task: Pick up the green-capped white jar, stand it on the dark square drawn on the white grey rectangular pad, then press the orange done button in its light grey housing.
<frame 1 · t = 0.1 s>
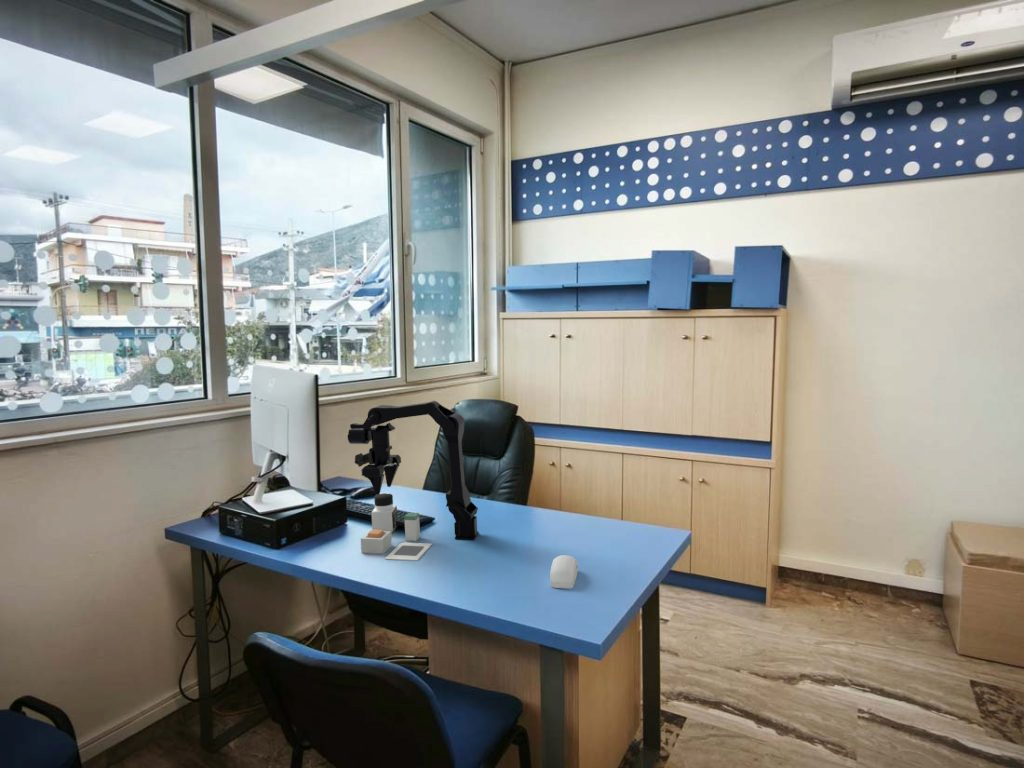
hand: (383, 490, 202), 15 cm above the table, tool pointing down, fingers open, 9 cm apart
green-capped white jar: (412, 538, 197), on the table
done button: (376, 535, 189), point 4 cm above the table, slide at 0.0 cm
done button housing: (376, 548, 189), on the table
medicine bottle: (385, 529, 208), on the table
white grey rectangular pad: (409, 551, 186), on the table
computer mouse: (564, 580, 163), on the table
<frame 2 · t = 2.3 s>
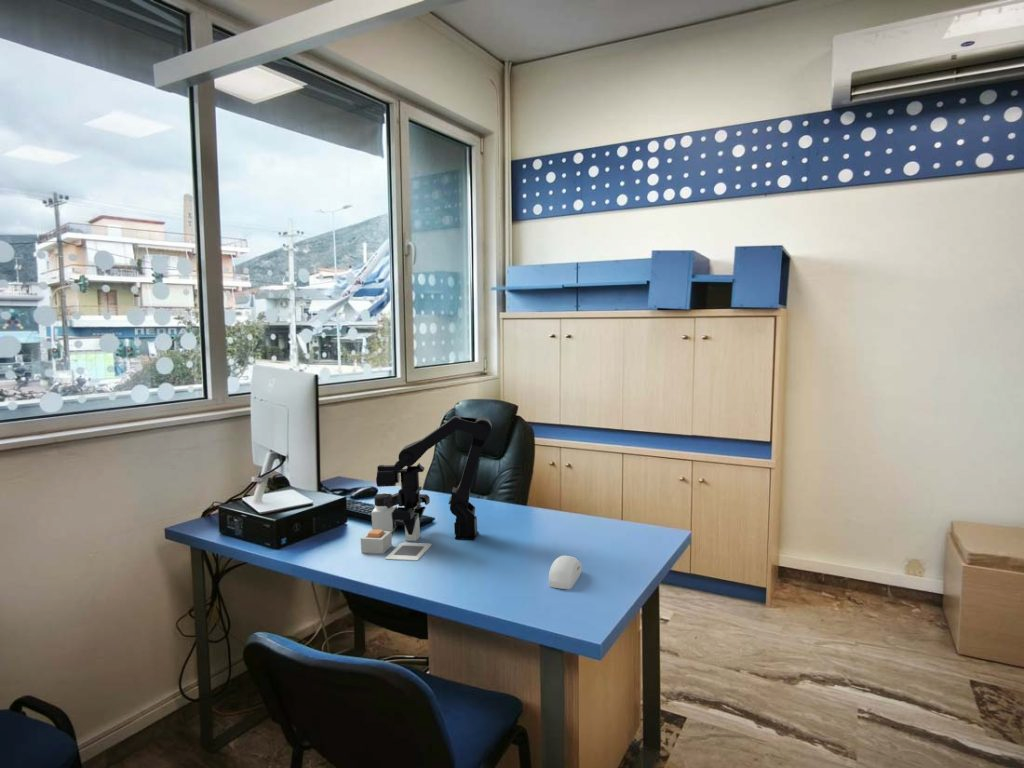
hand: (412, 532, 197), 2 cm above the table, tool pointing down, fingers closed on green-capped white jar, 4 cm apart
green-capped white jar: (412, 538, 197), on the table, touching gripper
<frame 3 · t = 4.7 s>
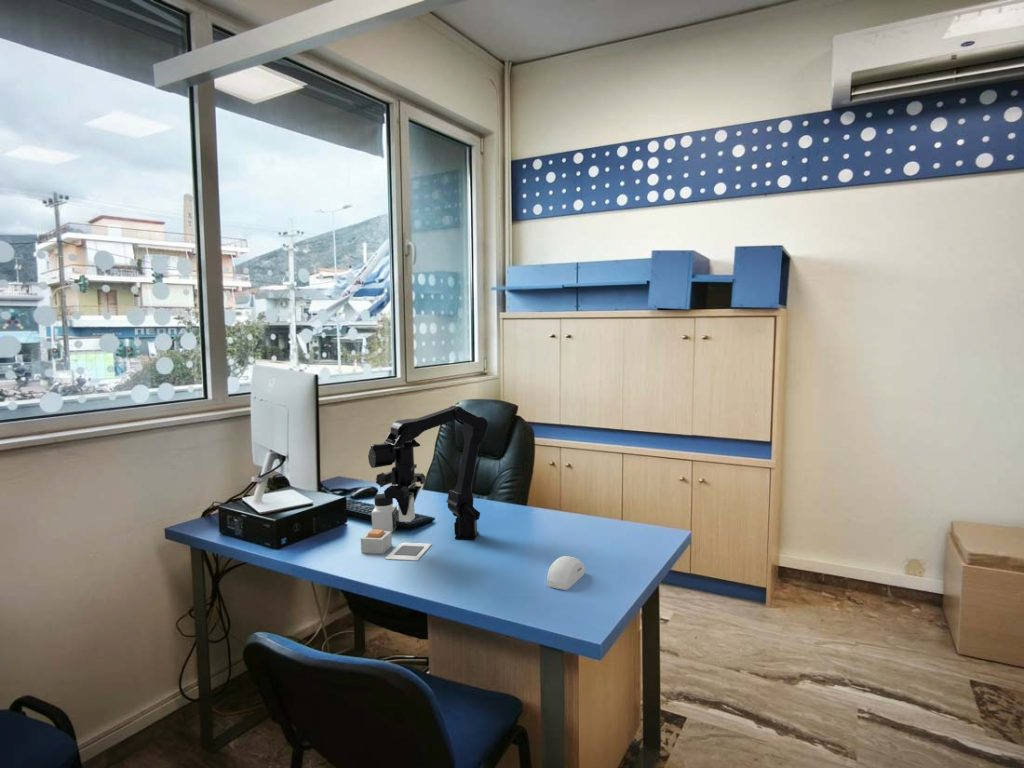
hand: (406, 513, 185), 12 cm above the table, tool pointing down, fingers closed on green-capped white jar, 4 cm apart
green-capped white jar: (407, 519, 185), point 10 cm above the table, touching gripper
when the fingers open (3 cm above the table, at t = 7.1 s): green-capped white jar stays where it is, resting on white grey rectangular pad.
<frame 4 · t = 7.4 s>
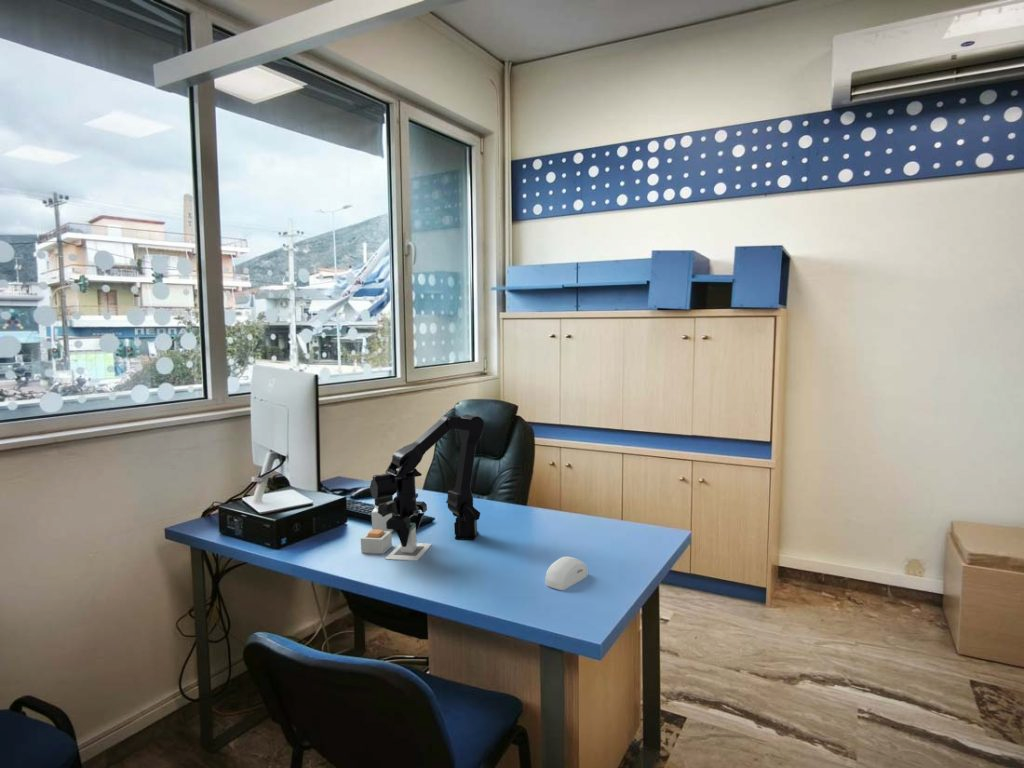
hand: (408, 542, 186), 3 cm above the table, tool pointing down, fingers open, 7 cm apart
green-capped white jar: (409, 550, 186), resting on white grey rectangular pad
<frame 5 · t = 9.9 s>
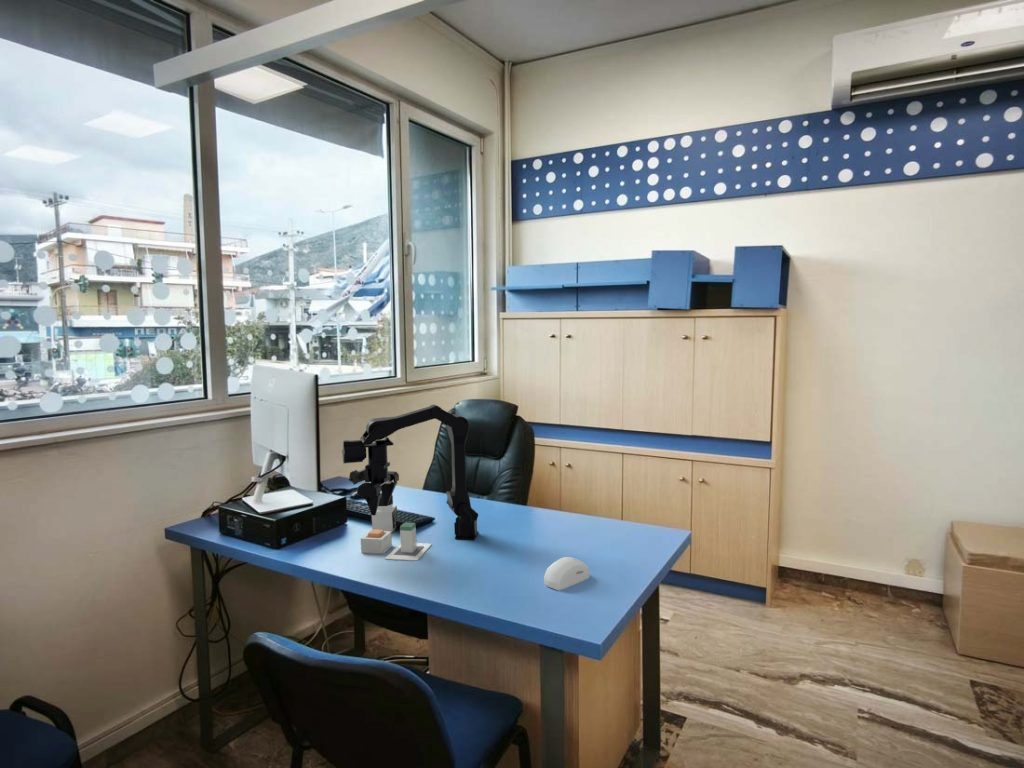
hand: (379, 510, 187), 13 cm above the table, tool pointing down, fingers open, 9 cm apart
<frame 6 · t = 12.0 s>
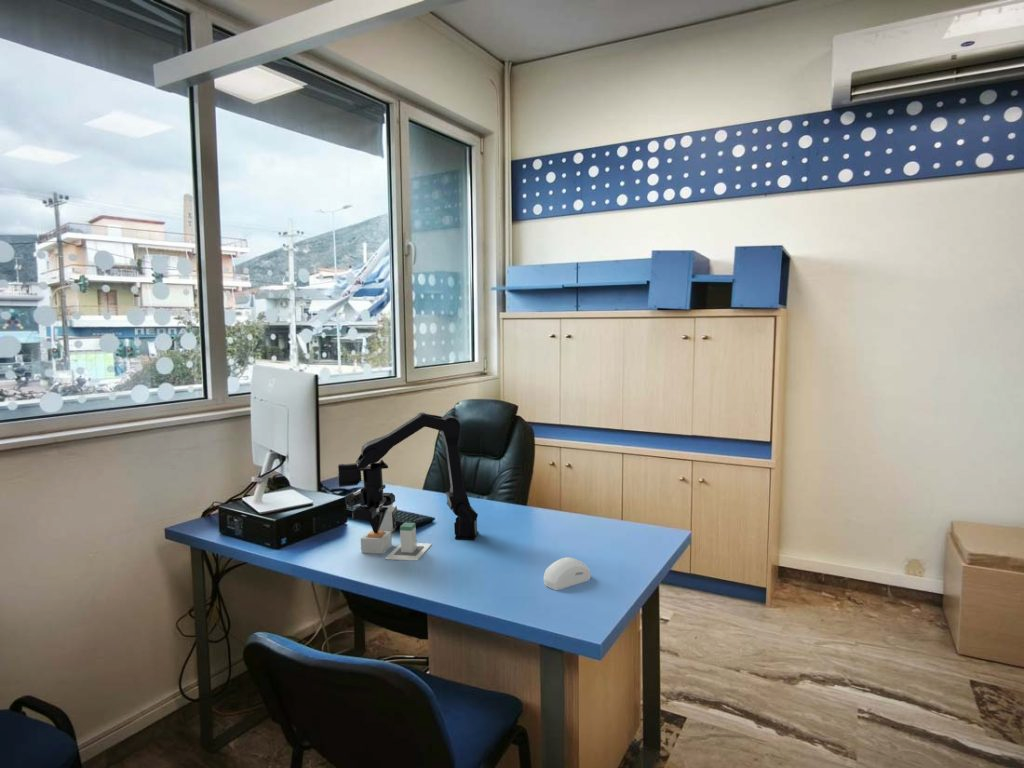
hand: (376, 532, 189), 5 cm above the table, tool pointing down, fingers closed, pressing on done button
done button: (376, 536, 189), point 4 cm above the table, slide at 0.4 cm, touching gripper
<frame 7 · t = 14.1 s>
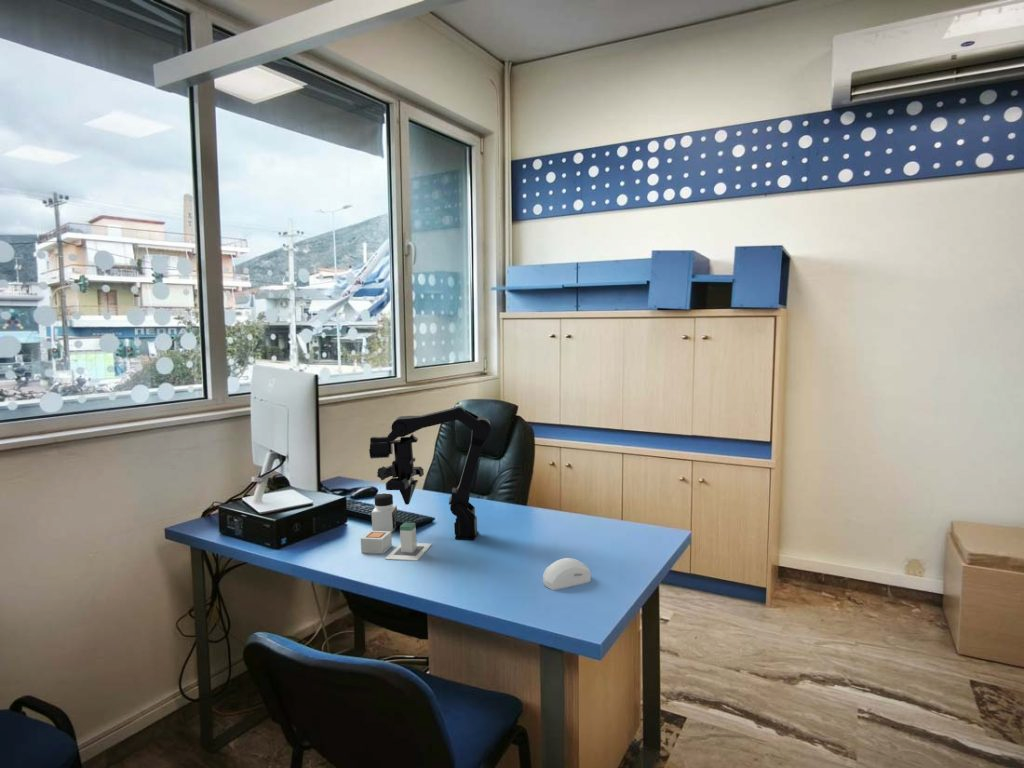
hand: (407, 504, 195), 12 cm above the table, tool pointing down, fingers closed
done button: (376, 538, 189), point 3 cm above the table, slide at 1.1 cm
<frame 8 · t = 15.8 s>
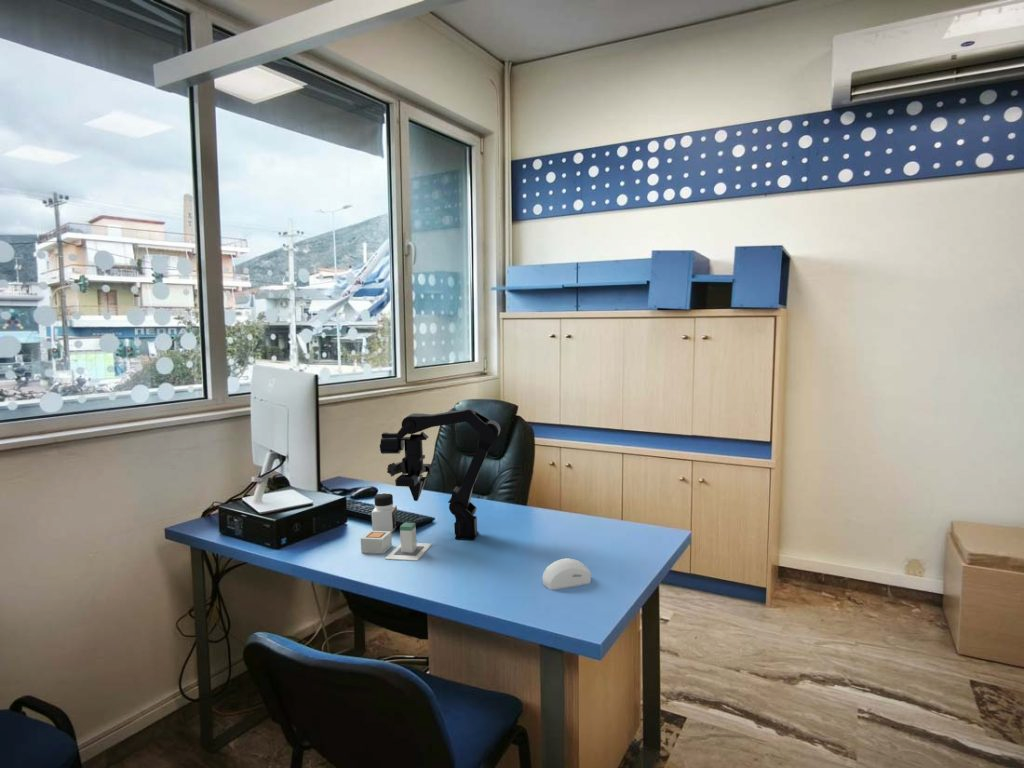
hand: (416, 500, 198), 12 cm above the table, tool pointing down, fingers closed
at the end: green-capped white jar 0.1 cm off-centre on the white grey rectangular pad, point 0.5 cm above the white grey rectangular pad's base; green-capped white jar tilted 0°; done button slide at 1.1 cm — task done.
